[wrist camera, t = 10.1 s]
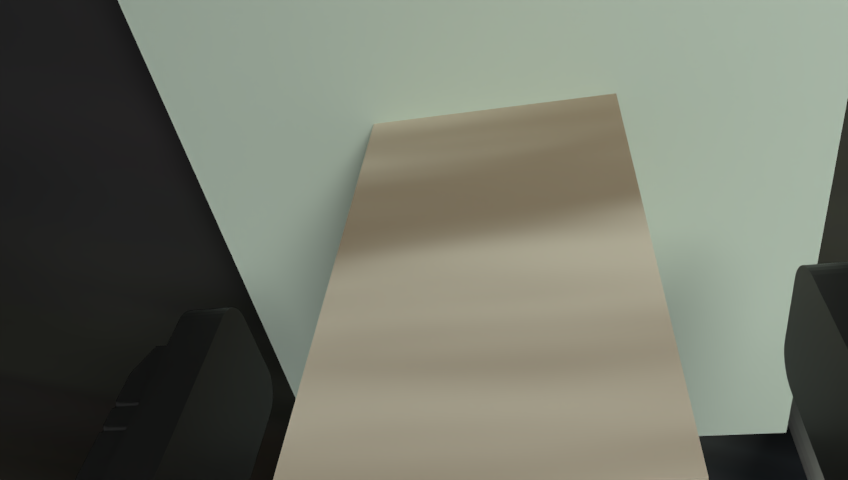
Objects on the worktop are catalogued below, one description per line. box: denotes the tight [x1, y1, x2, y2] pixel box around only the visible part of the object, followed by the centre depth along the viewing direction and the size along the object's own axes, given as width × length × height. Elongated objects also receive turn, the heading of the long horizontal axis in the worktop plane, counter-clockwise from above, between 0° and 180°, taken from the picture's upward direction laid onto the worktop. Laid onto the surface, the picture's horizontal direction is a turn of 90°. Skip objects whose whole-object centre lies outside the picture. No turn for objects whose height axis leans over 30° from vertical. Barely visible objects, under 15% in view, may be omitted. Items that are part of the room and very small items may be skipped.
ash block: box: [273, 93, 709, 480], centre depth 11 cm, size 4×4×7 cm
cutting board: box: [118, 0, 848, 436], centre depth 14 cm, size 14×11×2 cm
